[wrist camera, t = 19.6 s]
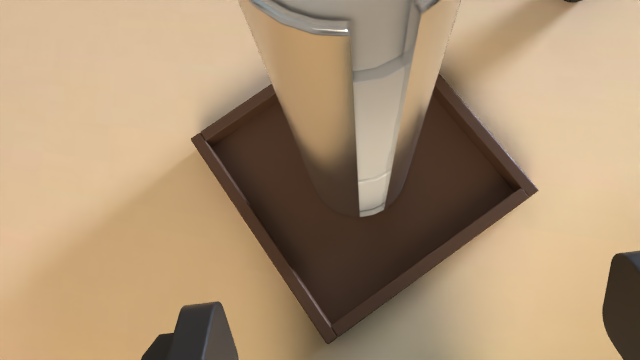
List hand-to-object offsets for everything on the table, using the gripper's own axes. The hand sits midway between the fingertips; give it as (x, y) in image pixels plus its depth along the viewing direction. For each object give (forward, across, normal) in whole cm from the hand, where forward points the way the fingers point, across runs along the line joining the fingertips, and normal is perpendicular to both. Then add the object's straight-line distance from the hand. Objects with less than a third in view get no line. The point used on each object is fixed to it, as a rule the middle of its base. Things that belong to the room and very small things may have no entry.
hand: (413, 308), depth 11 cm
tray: (+24, 0, +10) cm, 26 cm away
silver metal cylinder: (+23, 0, +10) cm, 25 cm away
